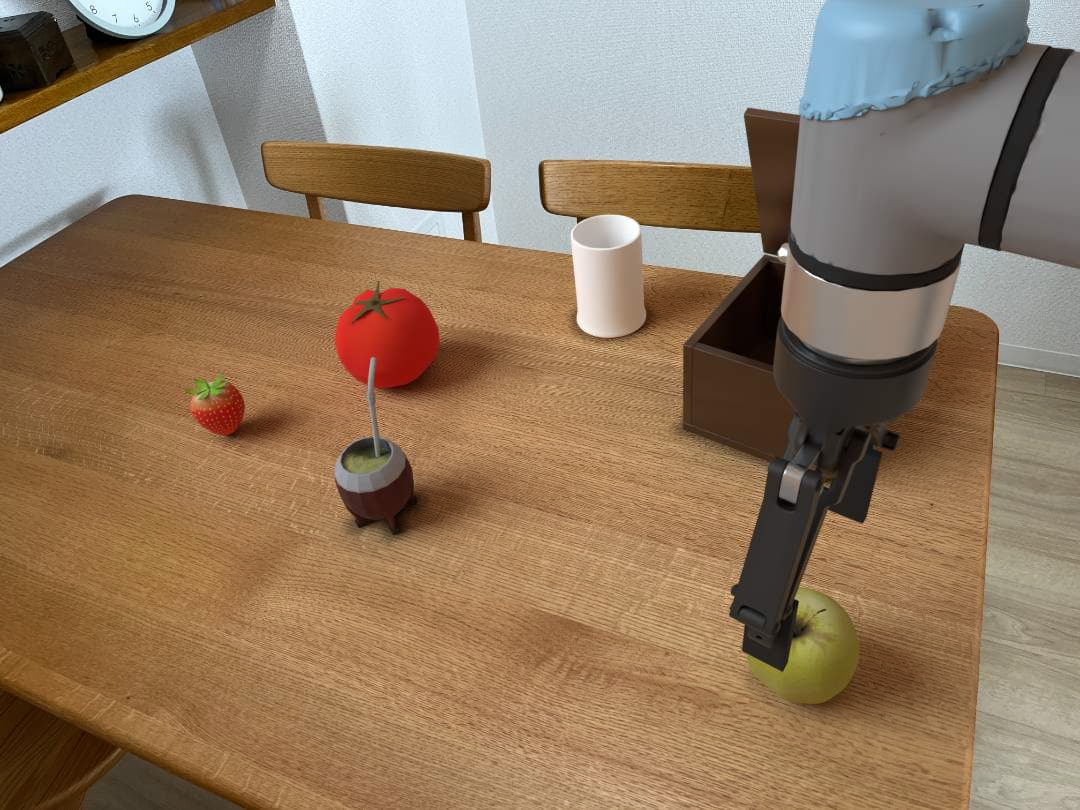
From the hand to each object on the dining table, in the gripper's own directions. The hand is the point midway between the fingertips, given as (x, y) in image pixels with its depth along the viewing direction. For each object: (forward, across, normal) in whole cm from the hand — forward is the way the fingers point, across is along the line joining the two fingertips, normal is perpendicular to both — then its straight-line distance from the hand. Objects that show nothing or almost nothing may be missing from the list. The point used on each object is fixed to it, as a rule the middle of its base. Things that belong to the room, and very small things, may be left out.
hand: (808, 580), depth 54 cm
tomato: (+13, -12, -54) cm, 56 cm away
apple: (+12, 0, 0) cm, 12 cm away
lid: (-8, -34, -13) cm, 37 cm away
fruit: (+13, +5, -64) cm, 65 cm away
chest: (+12, -29, -13) cm, 34 cm away
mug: (+12, -35, -38) cm, 53 cm away
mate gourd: (+12, +4, -40) cm, 42 cm away
